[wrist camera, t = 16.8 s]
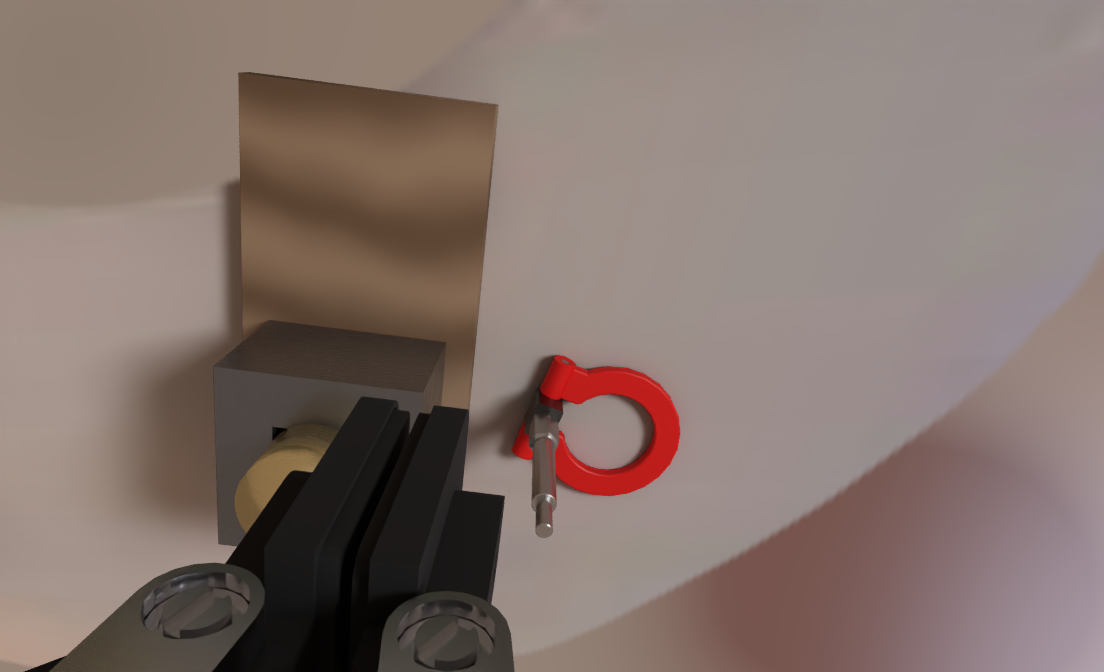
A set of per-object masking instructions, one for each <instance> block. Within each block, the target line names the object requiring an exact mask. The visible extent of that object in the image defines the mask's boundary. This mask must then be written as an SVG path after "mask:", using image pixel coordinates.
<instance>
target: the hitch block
mask: <svg viewBox="0 0 1104 672" xmlns="http://www.w3.org/2000/svg"><path fill="white" fill-rule="evenodd" d="M445 354H446V342H442V341H434V340H426V339H418V338H410V337H402V336H394V335H386V334H378V333H370V332H362V331H354V330H346V329H338V328H331V327H323V326H315V325H307V324H299V323H291V322H283V321H275V320H268V321H267V322H266V323H265V324H263V325H262V326H261V327H260V328H259V329H257V330H256V331H255V332H254V333H253V334H252V335H250V336H249V337H248V338H247V339H246V340H244V341H243V342H242V343H241V344H240V345H238V346H237V347H236V348H235V349H234V350H232V351H231V352H230V353H229V354H228V355H226V356H225V357H224V358H223V359H222V360H221V361H219V362H218V363H217V364H216V365H215V366H213V378H214V411H215V444H216V477H217V510H218V543H219V544H222V545H231V546H238V545H239V543H240V542H241V541H242V539H243V538H244V536H245V535H246V532H245V531H244V529H243V528H242V526H241V524H240V523H239V520H238V518H237V515H236V511H235V494H236V490H237V487H238V484H239V483H240V481H241V479H242V478H243V477H244V476H245V474H246V473H247V472H248V471H249V469H250V468H251V467H252V466H253V464H254V463H255V462H256V461H257V459H258V458H259V457H260V456H261V454H262V453H263V452H264V451H265V449H266V448H267V447H268V446H269V444H270V443H271V442H272V441H273V439H274V438H275V437H276V436H277V435H278V434H280V433H281V432H283V431H284V430H286V429H288V428H290V427H293V426H296V425H302V424H319V425H324V426H328V427H331V428H333V429H336V430H338V431H339V430H340V429H341V427H342V425H343V424H344V422H345V421H346V419H347V418H348V416H349V415H350V413H351V411H352V410H353V408H354V407H355V405H356V404H357V402H358V401H359V399H360V398H361V397H362V396H365V397H373V398H381V399H389V400H396V401H398V405H399V410H403V411H409V412H410V430H409V434H410V432H411V430H412V427H413V425H414V423H415V421H416V418H417V416H418V414H419V412H420V413H428V414H430V413H431V411H432V408H433V406H434V405H437V406H441V403H442V391H443V379H444V366H445Z"/></svg>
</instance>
